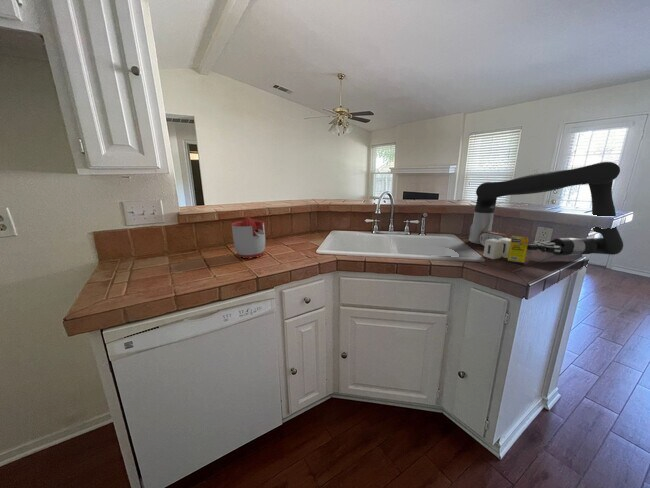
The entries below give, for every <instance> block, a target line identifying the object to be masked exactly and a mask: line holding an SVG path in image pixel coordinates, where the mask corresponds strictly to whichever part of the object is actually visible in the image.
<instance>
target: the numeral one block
mask: <svg viewBox="0 0 650 488" xmlns="http://www.w3.org/2000/svg"><path fill="white" fill-rule="evenodd" d="M503 242H504V241H500V240H496V239H488V240H486V241H485V247H484V246H483V247H484V249H483V253H482V254H483V255H482V257H485V258H488V259H491V260H495V259H496V260H497V259H500V258H502V257H501V254H502V248H503Z"/></svg>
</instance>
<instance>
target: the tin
mask: <svg viewBox="0 0 650 488" xmlns="http://www.w3.org/2000/svg"><path fill="white" fill-rule="evenodd" d="M501 238H509V239H511V236H510V235H508V234H507V233H501V232H496V231H492V230H491V231H485V232H483V233H481V234H480V235H479V238H478V239H479V243H480V244H479V245H481V246H482V247H485V241H486V240H488V239H496V240H498V239H501Z"/></svg>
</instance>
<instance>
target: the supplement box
mask: <svg viewBox="0 0 650 488" xmlns="http://www.w3.org/2000/svg"><path fill="white" fill-rule="evenodd" d="M510 239H511V242H510V248H509V253H508V258H506V259H507V263H511V264H519V265H525V262H526V261H525V260H526V255H527V251H528V250H527V246H528V244H529V237H527V236H518V235H511V236H510Z"/></svg>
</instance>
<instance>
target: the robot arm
mask: <svg viewBox="0 0 650 488" xmlns="http://www.w3.org/2000/svg"><path fill="white" fill-rule="evenodd" d="M620 173H621V168H620V165H618V164H617V163H615V162H613V161H600V162H596V163H593V164H589V165H584V166H580V167H576V168H571V169H570V168H569V169H562V170H554V171H553V170H552V171H546V172H545V171H544V172H539V173H533V174H528V175H524V176H519V177H517V178H513V179H509V180H504V181H493V182H492V181H486V182H482V183H481V184H479V186H477V188H476V190H475V194H476V196H477V197H476V203H475V206H474V211H473V212H474V213H473V221H472V224H470V229H469V236H468V242H470V243H472V244H475V245H477V244H478V245H481V244H480V243H479V239H478V238H479V235H480V234H481V233H483V232H485V231H492V227H493V222H494V214H495V210H496V206H497V200H498V198H500V197H506V196H520V195H521V196H522V195H531V194H538V193H546V192H552V191H556V190H561V189H564V188H568V187H573V186H580V185H588V187H589V191H590V194H591V195H590V196H591V215H592V214H593V215H597V216H616V217H617V213H616V208H615V204H614V199H613V184H614V180H615V179H616V178H618V176H619V175H620ZM592 231H593V232H594V233H598V234H600V235H601V236H602V237H592V238H591V237H590V238H585V237H582V238H579V237H578V238H577V237H576V238H575V237H557V238H553V239H552V240H551V241H547V240H546V241H540V240H534V241H533V242H532V243H531V244H529V243H528V246H527V251H537V252H540V251H541V252H542V253H551V254H553V255H555V256H576V255H591V254H600V255H611V256H612V255H618V254H620V253H621V252H622V251H623V249H624V241H623V239H622V237H621V234H620V232H619V230H618V227H617V226H616V227H615V228H612V229H610V228H607V229H601V228H599V227H595V228H593V227H592Z"/></svg>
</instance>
